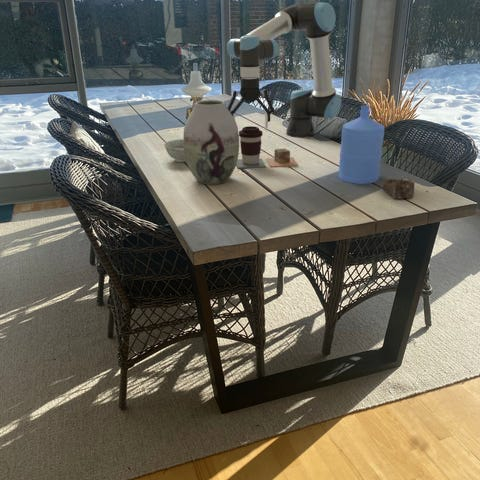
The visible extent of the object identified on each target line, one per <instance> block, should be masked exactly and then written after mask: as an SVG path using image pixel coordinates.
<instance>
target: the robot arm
mask: <svg viewBox="0 0 480 480" xmlns="http://www.w3.org/2000/svg"><path fill="white" fill-rule="evenodd" d="M336 16H337V15H336V12H335V9H334V7H333V6H332V5H331V3H329V2H322V1H319V2H298V3H295V4H292V5H290V6H288V7H286V8H283V9H282V10H280V11H279V12H277V13H276V14H275V16H274V17H273V18H272V19H270V20H269V21H267V22H264V23H263V24H262V25H260V26H258V27H256V28H255V29H253V30H252V31H250V32H249V33H247V34H245V35H243V36H241V37H240V38H236V37H235V38H232V39H229V40H228V42H227V45H226V50H227V51H226V52H227V54H228V55H229V56H230V57H231V58H236V59H239V60H240V77H241V78H240V89H239V90H235V89H233V91H232V96H231V98H230V101H229V103H228V106H227V108H228V110H229V112H230V113H231V115H232V116H233V118H234V119H235V120H236V115H235V113H236V112H237V111H238V109H239V108H240V107H241V106H242V104H243V103H244V102H246V103H247V102H255V101H256V102H257V103H258V104H259V105H260V107H261V108H262V109H263V110H264V111H265V112H266V113H265V112H264V130H265V131H268V130H269V126H268V125H269V123H270V122H271V114H273V113H275V112H276V111H275V108H274V107H273V104H272V102H271V100H270V98H269V95H268V90H267V89H266V88H263V89H261V90H260V78H259V77H260V61H265V60H272V59H274V58H276V57H278V55H279V52H280V46H279V43H278V42H277V41H276V40H275V39H276V38H277V37H279V36H281V35H283V34H288V33H290V32H293V31H300V32H301V31H303V32H305V33H304V34H305V38H306V39H307V40H309V46H310V47H309V48H310V58H311V59H310V60H311V65H312V69H311V70H312V76H313V77H312V78H313V87H314V89H313V88H304V89H297V90H296V89H295V90H293V91H292V92H291V94H290V107H289V110H290V112H289V113H290V114H289V122H288V125H287V128H286V131H285V133H286V136H288V137H291V138H309V137H314V136H315V135H316V130H315V129H316V128H315V126H314V122H313V117H315V118H322V119H334V118H336V116H337V115H338V113H339V112H340V109H341V107H342V97H341V96H340V95H339V94H337V92H336V90H337V89H336V88H335V87H334V86H333V81H332V78H333V77H332V68H331V55H330V54H331V53H330V42H329V37H330V35H331V34H332V31H333V30H334V28H335V26H336V24H335V23H336V19H337V17H336ZM239 95H240V96H241V98H239V100H238V102H237V103H236V104H235V106H233V105H234V103H235V100H236V98H237V97H238V96H239ZM260 95H262V96H263V97H264V99H265V102H266V104H267V105H268V107H269V109H268V107H267V106H266V105H265V104H264V102H262V101H261V99H260V98H259V97H260ZM232 107H233V108H232Z"/></svg>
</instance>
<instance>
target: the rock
mask: <svg viewBox="0 0 480 480" xmlns="http://www.w3.org/2000/svg"><path fill="white" fill-rule="evenodd" d="M382 189H383V191H385V192H386V193H388V194H390V196H392V197H393V199H398V200H399V199H400V200H401V199H412V198H413V197H414V194H415V182H414V181H413V180H408V179H394V178H392V179H384V183H383V187H382Z"/></svg>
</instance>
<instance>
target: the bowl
mask: <svg viewBox="0 0 480 480" xmlns="http://www.w3.org/2000/svg"><path fill="white" fill-rule="evenodd" d="M163 146H164V148H165V150H166V153H167V154H168V155H169V156H170V158H172V159H174V161H175V162H178V163H187V161H186V158H185V153H184V145H183V138H182V139H181V138H180V139H172V140H168V141H165V142H164V143H163Z"/></svg>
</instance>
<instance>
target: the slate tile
mask: <svg viewBox="0 0 480 480" xmlns="http://www.w3.org/2000/svg"><path fill="white" fill-rule="evenodd" d="M266 167H267V166H266V164H265V162H264V160H263V158H259V163H258V164H254V165H247V164H244V163H243V162H242V158H240V159H239V158H238V160H237V164H236V169H237V170H240V169H241V170H242V169H245V170H247V169H261V168H262V169H263V168H265V169H266Z"/></svg>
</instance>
